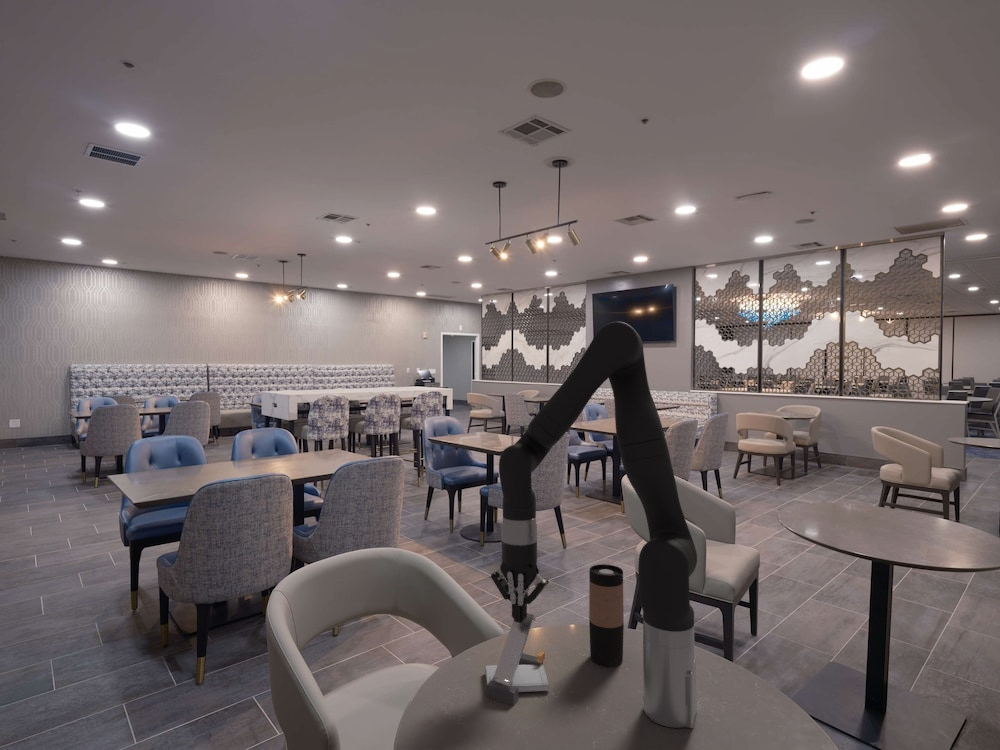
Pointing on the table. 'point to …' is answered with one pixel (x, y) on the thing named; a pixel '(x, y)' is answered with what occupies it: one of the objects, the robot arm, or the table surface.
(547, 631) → the table surface
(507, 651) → the grey flat bar
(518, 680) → the hard drive
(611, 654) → the travel mug
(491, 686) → the bracket
